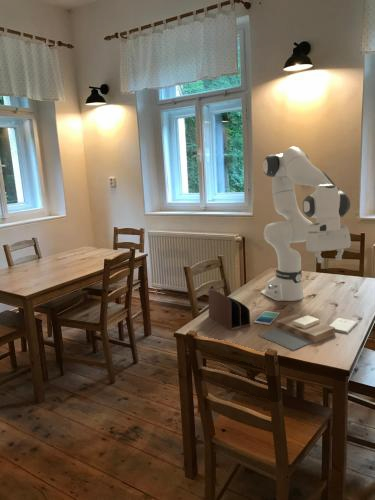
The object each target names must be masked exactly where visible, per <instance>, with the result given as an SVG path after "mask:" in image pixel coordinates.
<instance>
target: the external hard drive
mask: <svg viewBox="0 0 375 500" xmlns="http://www.w3.org/2000/svg"><path fill="white" fill-rule="evenodd" d="M357 324H358V321H357V320H352V319H348V318H347V319H346V318H343V317H342V318H341V317H337V318H336V319H334V320H333V322H332V323H330V325H329V326H332V327H335V333H342V334H345V335H348V334H349V333H350V332H351V331H352V330H353V329H354V328H355V327H356V326H357Z"/></svg>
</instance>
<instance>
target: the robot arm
mask: <svg viewBox="0 0 375 500" xmlns="http://www.w3.org/2000/svg"><path fill="white" fill-rule="evenodd" d="M262 162H263V163H262V169H263V173H264V174H265V176H266V177H271V178H272V179H271V180H272V181H271V193H272V200H273V207H274V211H275V212H276V213H277V214H278V215H281V216H283V217H284V218H285V219H286V220H284V221H275V222H271V223H268V224H266V225H265V227H264V229H263V238H264V240H265V241H266V242H267V243H268V244H269V245H270V246H272V247H273V249H274V250H275V252H276V255H277V269H275V270H274V273H275V276H273V277H272V278H271V279H269V280H267V282H266V285H265V289H262V290H261V291H260V292H261V295H264V296H266V297H268V298H270V299H273V300H275V301H278V302H279V301H286V302H294V301H300V300H303V299H304V298H305V295H304V290H303V283H302V277H303V276H302V275H303V272H302V271H303V270H302V256H301V254H300V253H299V252H298V251H297V250H295V249H293V248H291V244H293V243H294V244H295V243H304V242H305V248H306V251H307V252H310V253H314V255H315V257H316V259H317V260H316V262H317V263H318V264H323V263H324V259H325V258H324V257H322V255H321V254H322V252H325V251H333V250H336V251H337V255H335V256H334V257H335V261H342V258H343V257H342V256H343V254H344V251H345V249H349V248H350V247H351V246H352V240H351V234H350V231H349V227H348V226H347V225H346V224H341V218H343V217H344V216H346V214H347V213H348V212H349V211H350V209H351V200H350V198H349V197H348V195H347V193H345V192H343V191H342V190H341V189H340V188H339V187H338V186H337V185H336V183H334V181H333V180H332V179H331V178H330V177H329V176H328V175H327V174H326V172H324V170H321V169H319V168H318V167H317V166H315V165H314V164H313V163H311V162H310V159H309V157H308V155H307V154H306V153H305V152H304V151H302V149H300V147H296V146H291V147H288V148H287V149H285V150H284V151H283V153H277V154H269V155H267V156H265V157H264V160H263V161H262ZM295 185H298V186H308V187H314V188H315V190H314V192H312V193H311V194H310V195H309V194H308V195H307V196H305V198H304V200H303V201H302V212H303V213H304V215H303V213H302V212H301V210H300V208H299V205H298V201H297V196H296V190H295ZM305 216H306V217H305ZM307 217H308V218H312V219H315V222H312V221H311V220H309V219H307ZM274 273H273V274H274Z"/></svg>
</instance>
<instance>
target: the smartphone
mask: <svg viewBox="0 0 375 500" xmlns="http://www.w3.org/2000/svg"><path fill="white" fill-rule="evenodd" d="M279 316H280V312H276V311H269V310H264V311H263V312H262V313H261V314H260V315H259V316H258V317H257V318H256V319H255V320H254V321H253V323H254V324H258V325H265V326H270V325H271V324H273V323H274V322H275V321H276V319H277V318H278V317H279Z"/></svg>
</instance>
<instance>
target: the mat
mask: <svg viewBox="0 0 375 500" xmlns="http://www.w3.org/2000/svg"><path fill="white" fill-rule="evenodd" d="M258 336H259V337H261V338H263V339H264V340H267V341H270V342H272V343H274V344H277V345H278V346H281V347H283V348H286V349H288V350H290V351H292V352H294V351H297V350H299V349H301V348H303V347H306V346H308V345H310V344H313V341H310V340H308V339H305V338H303V337H300V336H298V335H295V334H293V333H290V332H288V331H285V330H283V329H280V328H276V327H275V328H272V329H271V330H270V329H269V330H267V331H265V332H262V333H260V334H258Z"/></svg>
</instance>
